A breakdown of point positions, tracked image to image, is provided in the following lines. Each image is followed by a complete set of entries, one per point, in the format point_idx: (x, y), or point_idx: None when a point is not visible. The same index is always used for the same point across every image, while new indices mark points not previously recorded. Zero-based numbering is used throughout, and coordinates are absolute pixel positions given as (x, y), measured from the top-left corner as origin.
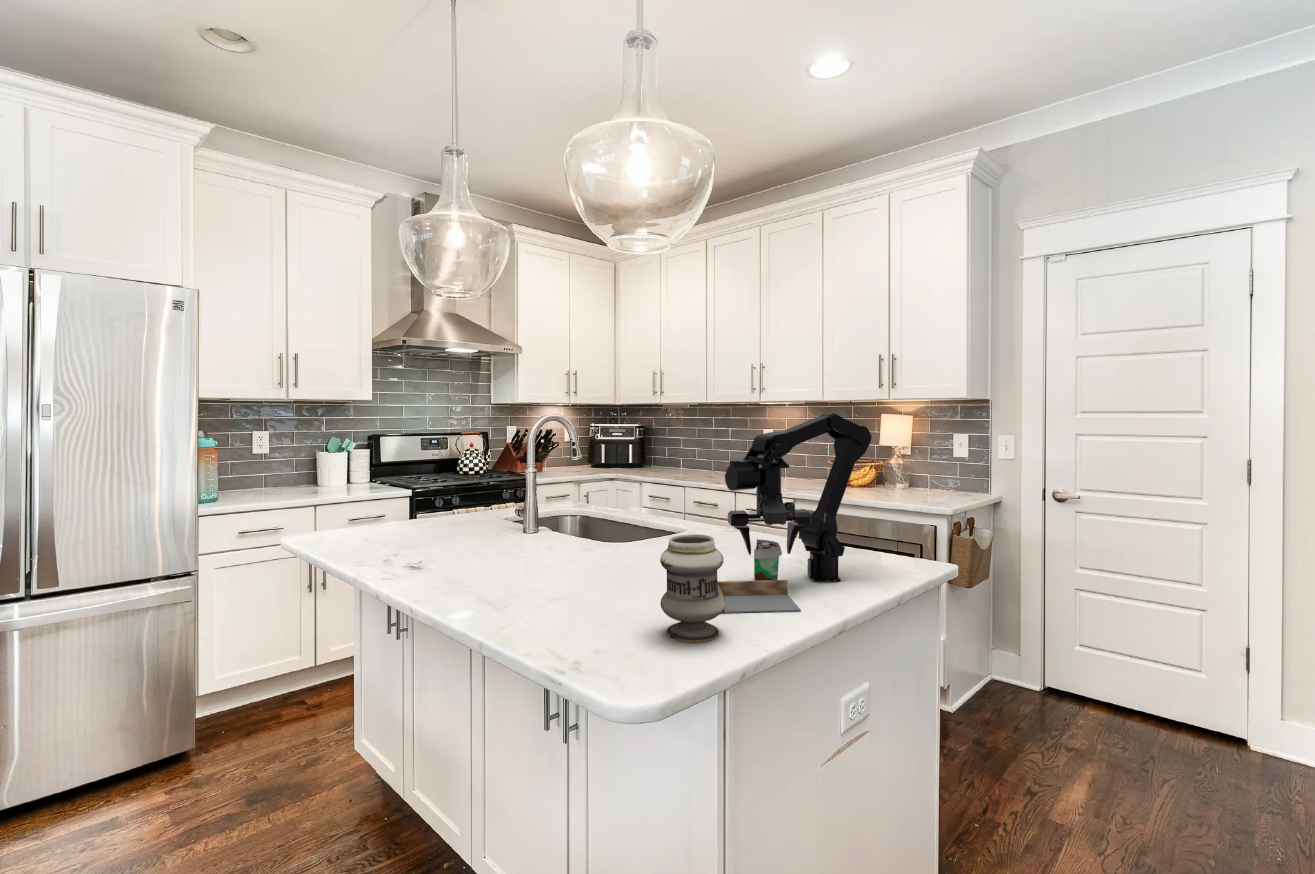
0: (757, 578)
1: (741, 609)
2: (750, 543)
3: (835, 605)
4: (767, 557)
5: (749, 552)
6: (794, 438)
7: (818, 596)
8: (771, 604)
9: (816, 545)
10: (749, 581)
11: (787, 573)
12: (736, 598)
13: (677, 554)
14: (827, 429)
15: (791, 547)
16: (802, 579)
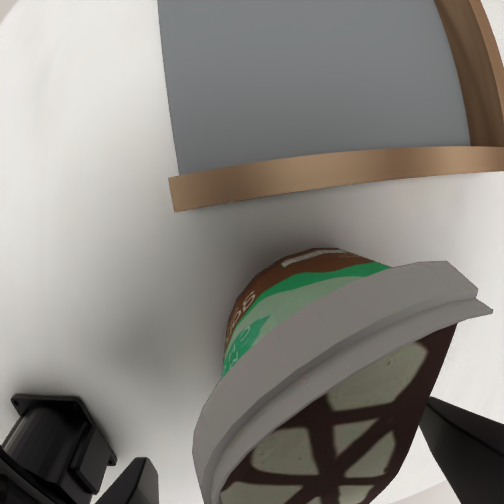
0: (348, 257)
1: None
2: (474, 439)
3: (17, 91)
4: (341, 294)
5: (439, 402)
6: None
7: (52, 202)
8: (273, 22)
9: (10, 493)
10: (399, 163)
11: (186, 478)
12: (415, 110)
13: None
14: None
15: (114, 487)
16: (127, 428)
